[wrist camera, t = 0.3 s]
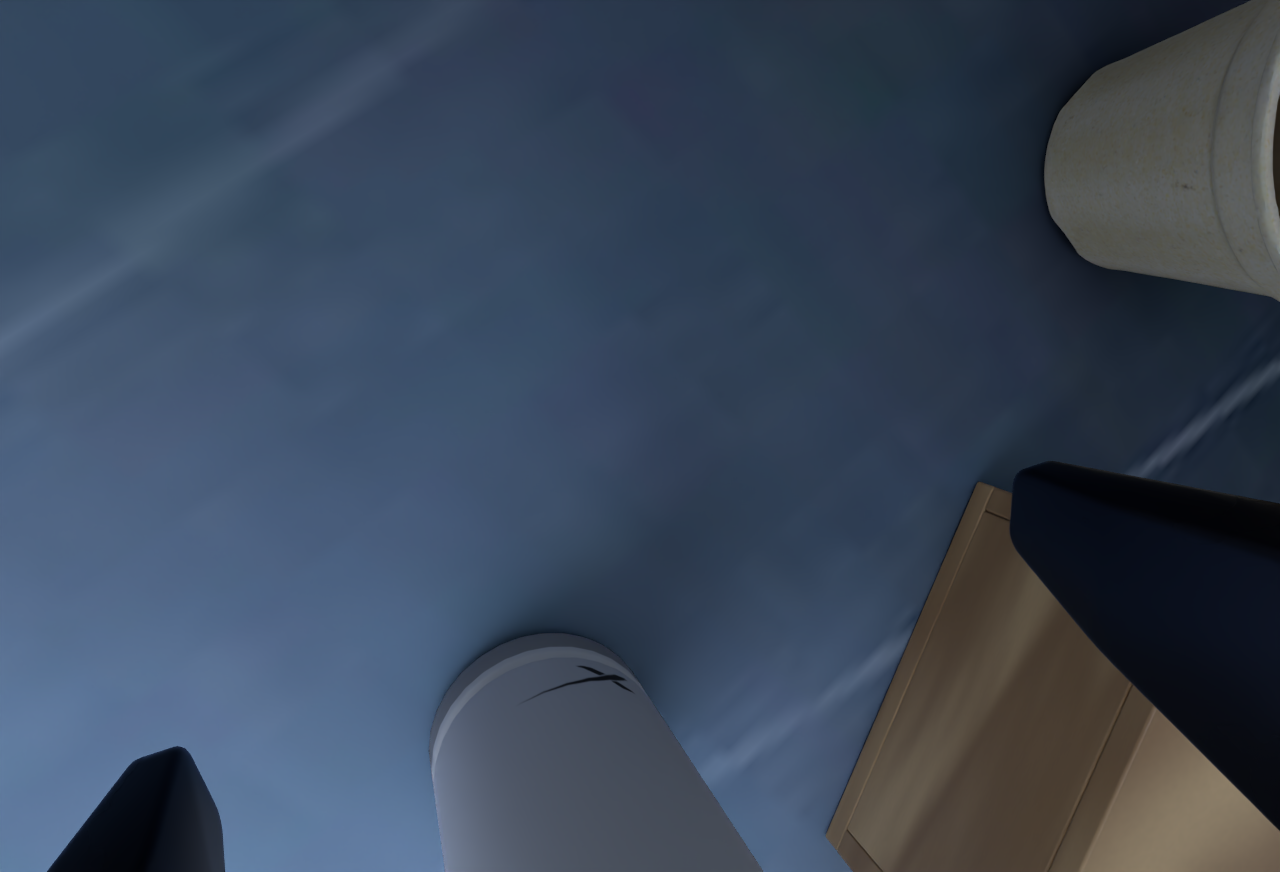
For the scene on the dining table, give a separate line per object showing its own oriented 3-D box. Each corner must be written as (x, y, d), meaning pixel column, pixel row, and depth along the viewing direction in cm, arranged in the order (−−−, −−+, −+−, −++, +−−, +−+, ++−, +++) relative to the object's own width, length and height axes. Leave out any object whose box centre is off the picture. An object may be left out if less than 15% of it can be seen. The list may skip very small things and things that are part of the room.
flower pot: (953, 73, 26) (1225, -11, 18) (1204, -46, 28) (1557, -174, 19) (1041, 367, 29) (1311, 411, 20) (1264, 242, 30) (1595, 236, 22)
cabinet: (1274, 603, 34) (1564, 712, 26) (1136, 905, 34) (1373, 1104, 26) (977, 480, 29) (1218, 567, 21) (824, 836, 30) (997, 1054, 21)
